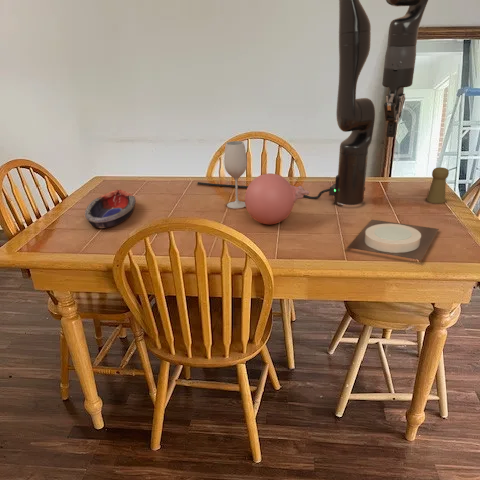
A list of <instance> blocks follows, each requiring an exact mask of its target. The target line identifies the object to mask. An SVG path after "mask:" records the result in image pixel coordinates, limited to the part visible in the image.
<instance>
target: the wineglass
mask: <svg viewBox="0 0 480 480" xmlns="http://www.w3.org/2000/svg"><path fill="white" fill-rule="evenodd" d="M223 163H224V164H223V165H224V169H225V172H226V173H227V175H229V176H230V177H231V178H233V180H234V182H235V184H234V185H235V187H236V188H235V187H234V188H235V199H234V201H231V202H228V203H226V207H227V208H229V209H234V210H238V209H244V208H246V205H245V201H242V200H241V201H240V200H239V188H238V185H239V184H238V183H239V182H238V180H239V178H240V177H241V176H243V175H244V174H245V173H246V170H247V167H248V158H247V151H246V145H245V142H244V141H241V140H232V141H231V140H230V141H227V142H226V143H225V146H224V157H223Z"/></svg>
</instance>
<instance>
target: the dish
mask: <svg viewBox="0 0 480 480" xmlns="http://www.w3.org/2000/svg"><path fill="white" fill-rule="evenodd" d="M135 206H136V197H135V196H134V195H133V194H132V193H130V192H128V191H126V190H123V189H116V190H113V191H110V192H107V193H104V194H102V195H99V196H98V197H96V198H94V199H93V200H92V201H91V202H90V203H89V204H88V205H87V206H86V208H85V210H84V211H85V212H84V217H85V219H86V220H87V222H88V223H89V224H90V225H91V227H94V228H95V229H96V228H97V229H105V228H106V229H107V228H111V227H114V226H118V225H119V224H121V223H122V222H125V221H126V220H127V219H128V218H129V217H130V216H131V215H132V214H133V213H134V210H135Z"/></svg>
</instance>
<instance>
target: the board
mask: <svg viewBox="0 0 480 480" xmlns="http://www.w3.org/2000/svg"><path fill="white" fill-rule="evenodd" d="M378 224H400V225H405V226H409V227H412V228H414V229H416V230H418V231H419V232H420V233H421V241H420V246H419V247H418V248H417V249H415V250H413V251H410V252H403V253H390V252H383V251H379V250H375V249H373V248H371V247H369V246H368V245H366V243H365V241H364V240H365V231H366V229H367V228H369V227H371V226H374V225H378ZM438 231H439V228H435V227H427V226H421V225H414V224H406V223H401V222H400V223H399V222H393V221H386V220H378V219H371V220H370V221H369V222H368V223H367V224H366V226H365V227H364V228H362V230H361V231H360V233H358V234H357V236H356V237H354V239H353V240H352V241H351V242H350V244H349V245H348V246H347V249H352V250H357V251H364V252H369V253H370V252H371V253H376V254H382V255H389V256H393V257H400V258H406V259H412V260H417V261H422V260H423V259H424V257H425V255H426V253H427V252H428V250H429V248H430V246H431V245H432V242H433V240H434V239H435V237H436V235H437V233H438Z"/></svg>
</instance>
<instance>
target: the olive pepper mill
mask: <svg viewBox="0 0 480 480" xmlns="http://www.w3.org/2000/svg"><path fill="white" fill-rule="evenodd" d="M449 173H450V172H449V169H448V168H447V167H435V168H434V169H433V170H432V172H431V176H432V181H431V183H430V187H429V189H428V193H427V196H426V201H427V202H428V203H431V204H443V203H445V202H446V188H447V187H446V186H447V178H448V177H449Z"/></svg>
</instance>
